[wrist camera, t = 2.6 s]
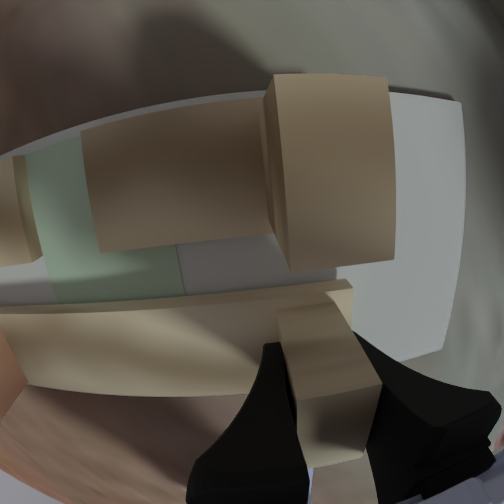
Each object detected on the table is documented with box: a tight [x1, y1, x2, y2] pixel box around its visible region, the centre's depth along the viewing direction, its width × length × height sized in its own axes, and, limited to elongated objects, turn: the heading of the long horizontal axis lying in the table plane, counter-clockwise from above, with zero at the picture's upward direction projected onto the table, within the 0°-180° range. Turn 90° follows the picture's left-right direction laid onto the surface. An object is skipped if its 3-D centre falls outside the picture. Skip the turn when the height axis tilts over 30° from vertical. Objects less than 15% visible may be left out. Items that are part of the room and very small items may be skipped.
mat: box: [0, 90, 466, 362], centre depth 13 cm, size 14×32×1 cm, turn 96°
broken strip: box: [0, 74, 396, 273], centre depth 8 cm, size 5×24×6 cm, turn 95°
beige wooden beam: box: [0, 278, 383, 469], centre depth 10 cm, size 5×24×6 cm, turn 96°
